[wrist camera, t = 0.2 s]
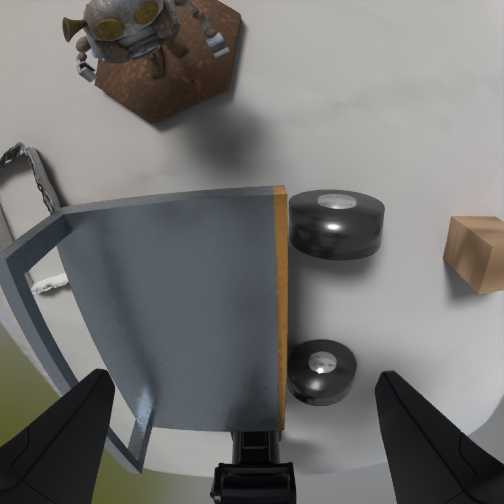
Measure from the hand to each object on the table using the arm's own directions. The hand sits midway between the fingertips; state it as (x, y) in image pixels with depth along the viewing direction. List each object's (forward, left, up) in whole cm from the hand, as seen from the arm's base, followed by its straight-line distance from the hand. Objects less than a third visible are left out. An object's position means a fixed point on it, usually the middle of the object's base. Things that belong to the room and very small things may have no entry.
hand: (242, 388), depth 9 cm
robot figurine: (+13, +5, -15) cm, 20 cm away
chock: (-2, -20, -15) cm, 25 cm away
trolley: (-6, +1, -15) cm, 16 cm away
